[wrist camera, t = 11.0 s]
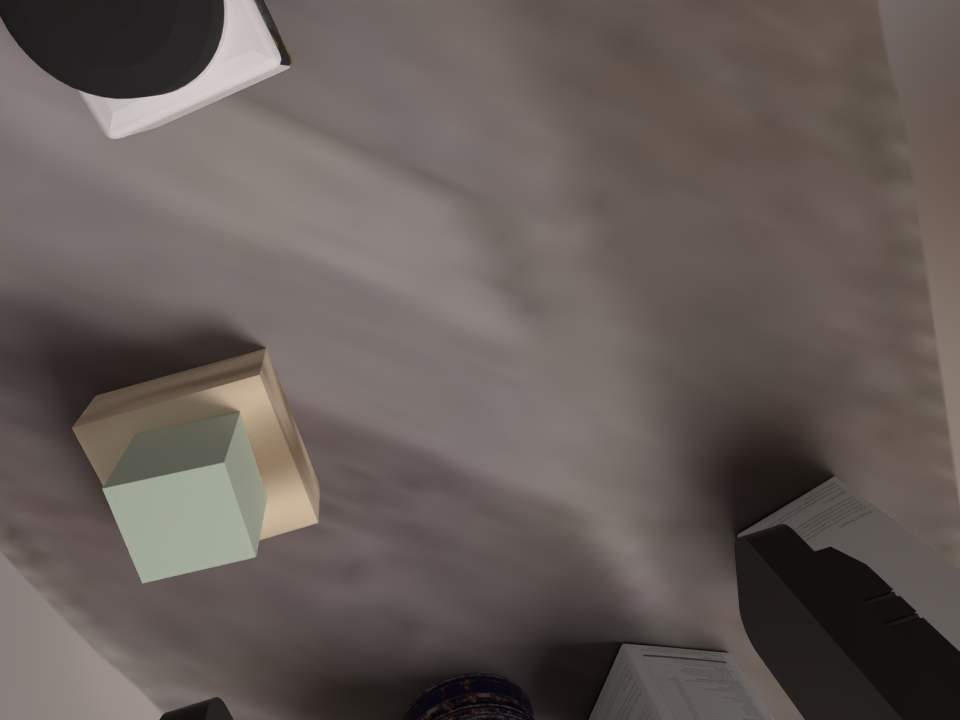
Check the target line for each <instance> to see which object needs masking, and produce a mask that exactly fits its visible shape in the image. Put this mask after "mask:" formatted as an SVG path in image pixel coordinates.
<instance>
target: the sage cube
mask: <svg viewBox="0 0 960 720" xmlns="http://www.w3.org/2000/svg"><path fill="white" fill-rule="evenodd" d="M102 489H103V491H104V494H105V496H106V499H107V501H108V503H109V506H110V508H111V510H112V513H113V515H114V517H115V520H116V522H117V525H118V527H119V529H120V532H121V534H122V536H123V539H124V541H125V543H126V546H127V548H128V550H129V553H130V555H131V558H132V560H133V562H134V565H135V567H136V569H137V572H138V574H139V576H140V579H141V581H142V583H146V582H150V581H155V580H159V579H163V578H168V577H172V576H176V575H181V574H185V573H189V572H194V571H198V570H202V569H207V568H211V567H215V566H220V565H224V564H228V563H233V562H237V561H241V560H246V559H250V558H254V557H256V555H257V549H258V544H259V539H260V534H261V528H262V523H263V518H264V513H265V507H266V502H267V494H266V491H265V488H264V485H263V482H262V479H261V475H260V472H259V469H258V466H257V463H256V460H255V456H254V453H253V450H252V447H251V444H250V441H249V438H248V434H247V431H246V428H245V425H244V422H243V419H242V415H241V412H238V413H233V414H228V415H223V416H218V417H214V418H209V419H204V420H199V421H194V422H190V423H185V424H180V425H175V426H170V427H166V428H161V429H156V430H151V431H147V432H142V433H137V434H135V435H134V437H133V439H132V440H131V442H130V444H129V445H128V447H127V449H126V450H125V452H124V454H123V455H122V457H121V459H120V460H119V462H118V464H117V465H116V467H115V468H114V470H113V472H112V473H111V475H110V477H109V478H108V480H107V482H106V483H105V485H104V487H103V488H102Z"/></svg>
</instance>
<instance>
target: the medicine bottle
mask: <svg viewBox="0 0 960 720" xmlns="http://www.w3.org/2000/svg"><path fill="white" fill-rule="evenodd" d="M0 16H1V18H2V20H3V22H4V24H5V25H6V27H7V29H8V31H9V32H10V34H11V35H12V37H13V38H14V39H15V41H16V42H17V43H18V45H19V46H20V47H21V48H22V49H23V51H24V52H25V53H26V54H27V55H28V56H29V57H30V58H31V59H32V60H33V61H34V62H35V63H36V64H37V65H39V66H40V67H41V68H42V69H43V70H44V71H46V72H47V73H49V74H50V75H52V76H53V77H54V78H56V79H57V80H59V81H61V82H63V83H65V84H67V85H68V86H70V87H72V88H75V89H77V91H78V92H79V94H80V96H81V97H82V99H83V101H84V102H85V104H86V105H87V107H88V109H89V110H90V112H91V113H92V115H93V117H94V118H95V120H96V122H97V123H98V125H99V126H100V128H101V130H102V131H103V133H104V134H105V135H106V136H107V137H109V138H111V139H119V138H122V137H126V136H129V135H133V134H136V133H139V132H143V131H146V130H150V129H153V128H157V127H160V126H162V125H164V124H166V123H169V122H171V121H173V120H175V119H178V118H180V117H182V116H184V115H186V114H189V113H191V112H193V111H195V110H198V109H200V108H202V107H204V106H207V105H209V104H211V103H213V102H215V101H218V100H220V99H222V98H224V97H227V96H229V95H231V94H233V93H235V92H238V91H240V90H242V89H244V88H247V87H249V86H251V85H253V84H256V83H258V82H260V81H262V80H264V79H267V78H269V77H271V76H273V75H276V74H278V73H280V72H282V71H284V70H287V69H288V68H289V67H291V64H292V59H291V56H290V54H289V52H288V50H287V48H286V46H285V44H284V42H283V40H282V37H281V35H280V33H279V31H278V29H277V27H276V25H275V23H274V21H273V19H272V17H271V15H270V13H269V10H268V8H267V6H266V4H265V2H264V0H0Z"/></svg>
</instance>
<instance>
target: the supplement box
mask: <svg viewBox="0 0 960 720" xmlns="http://www.w3.org/2000/svg"><path fill="white" fill-rule="evenodd" d="M589 720H774V718H773V717H772V715H771V714H770V712H769V711H768V709H767V708H766V706H765V705H764V704H763V702H762V701H761V699H760V698H759V696H758V695H757V693H756V692H755V691H754V689H753V688H752V686H751V685H750V683H749V682H748V680H747V679H746V677H745V676H744V674H743V673H742V671H741V670H740V668H739V667H738V665H737V664H736V663H735V661H734V660H733V658H732V657H731V655H730V654H729V653H724V652H712V651H701V650H690V649H679V648H668V647H657V646H645V645H634V644H622V646H621V648H620V650H619V652H618V655H617V657H616V659H615V661H614V664H613V666H612V668H611V670H610V672H609V675H608V677H607V679H606V682H605V684H604V686H603V688H602V691H601V693H600V695H599V697H598V700H597V702H596V704H595V706H594V709H593V711H592V713H591V715H590V717H589Z"/></svg>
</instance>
